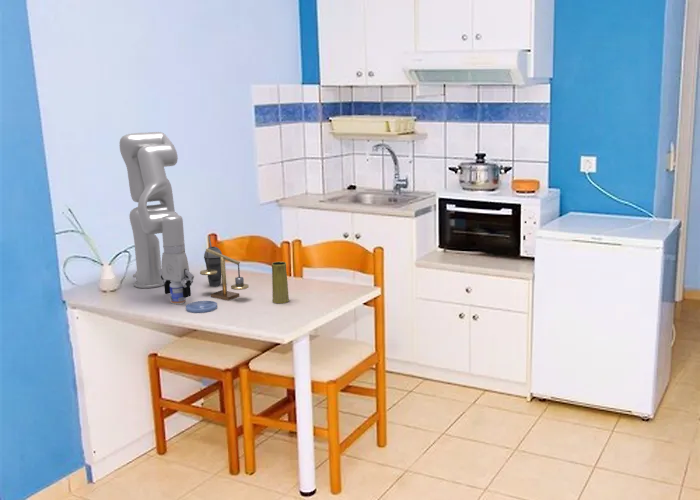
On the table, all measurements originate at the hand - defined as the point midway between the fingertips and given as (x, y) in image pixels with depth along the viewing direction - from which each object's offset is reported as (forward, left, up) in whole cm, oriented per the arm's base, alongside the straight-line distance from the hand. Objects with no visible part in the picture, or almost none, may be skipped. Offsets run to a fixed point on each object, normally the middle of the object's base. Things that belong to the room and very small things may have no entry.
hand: (177, 295), depth 281 cm
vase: (+32, +20, -3) cm, 38 cm away
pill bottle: (0, 0, -3) cm, 3 cm away
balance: (+10, +14, -3) cm, 17 cm away
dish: (+13, -1, -3) cm, 13 cm away
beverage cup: (-5, +24, -3) cm, 25 cm away
